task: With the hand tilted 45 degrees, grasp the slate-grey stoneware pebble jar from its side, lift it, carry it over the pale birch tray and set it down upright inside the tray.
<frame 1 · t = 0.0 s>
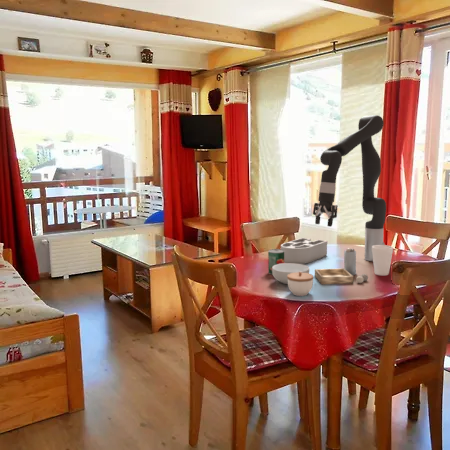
hand: (323, 225, 230), 22 cm above the table, tool pointing down, fingers open, 8 cm apart
birch tray: (333, 279, 216), on the table
pebble jar: (350, 273, 225), on the table
canned tomato: (276, 273, 230), on the table
ice cube tray: (301, 259, 258), on the table
foam cup: (381, 274, 224), on the table
lidded jar: (300, 294, 197), on the table
cereal bowl: (290, 282, 213), on the table
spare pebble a: (364, 280, 212), on the table
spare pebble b: (359, 283, 209), on the table
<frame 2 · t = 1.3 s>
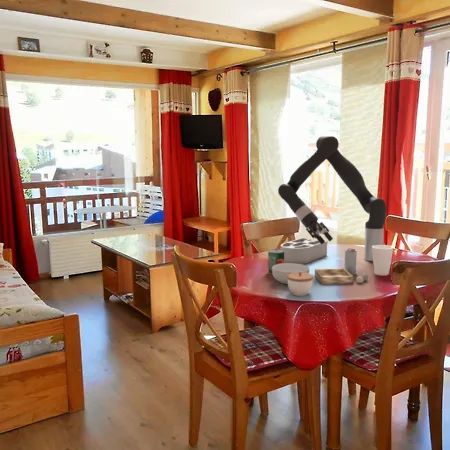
hand: (327, 241, 227), 15 cm above the table, tool tilted 45°, fingers open, 8 cm apart
nothing on the table moved.
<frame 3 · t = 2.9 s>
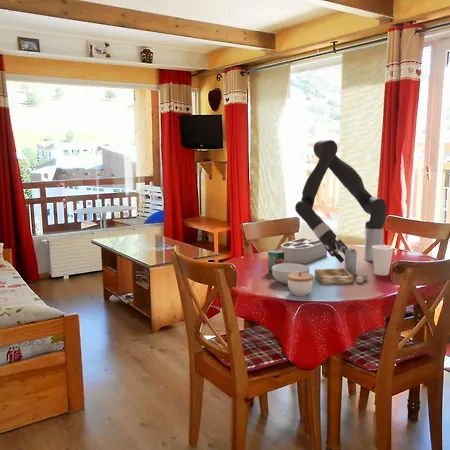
hand: (346, 259, 223), 7 cm above the table, tool tilted 45°, fingers open, 8 cm apart
nothing on the table moved.
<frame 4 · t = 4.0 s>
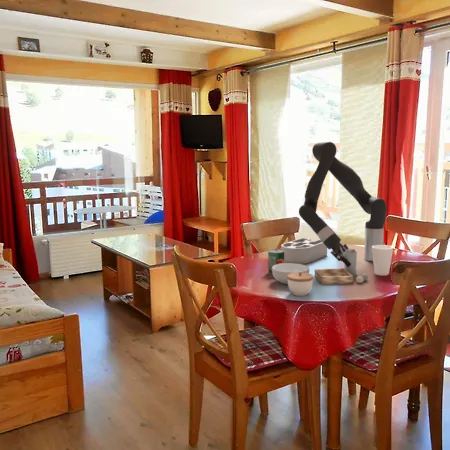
hand: (352, 264, 223), 5 cm above the table, tool tilted 45°, fingers closed on pebble jar, 5 cm apart
pebble jar: (350, 274, 224), on the table, touching gripper
everything else where it was.
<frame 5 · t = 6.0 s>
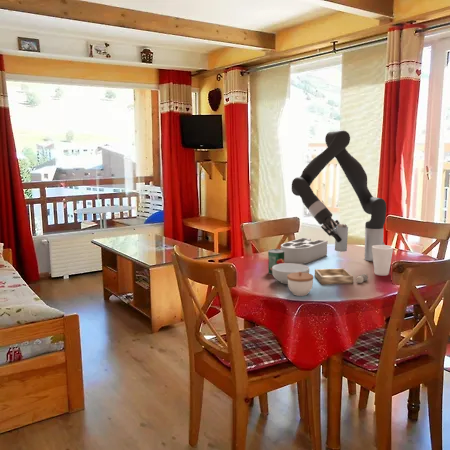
hand: (343, 240, 216), 18 cm above the table, tool tilted 45°, fingers closed on pebble jar, 5 cm apart
pebble jar: (340, 250, 218), point 13 cm above the table, touching gripper
everything else where it was.
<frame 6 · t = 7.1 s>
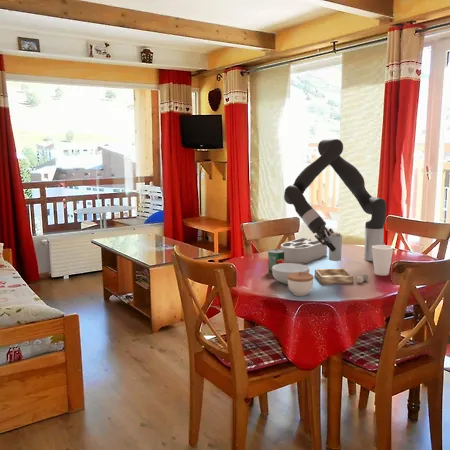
hand: (337, 249, 213), 14 cm above the table, tool tilted 45°, fingers closed on pebble jar, 5 cm apart
pebble jar: (334, 259, 214), point 10 cm above the table, touching gripper
everything else where it was.
when the fingers open (7 cm above the table, at t = 8.8 s): pebble jar drops 1 cm, resting on birch tray.
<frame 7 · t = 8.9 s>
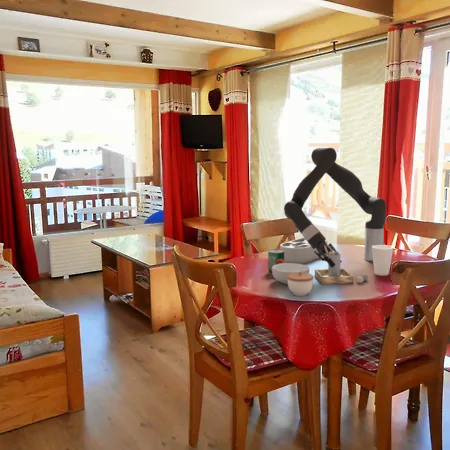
hand: (336, 264, 214), 7 cm above the table, tool tilted 45°, fingers open, 6 cm apart
pebble jar: (334, 278, 215), point 1 cm above the table, touching birch tray
everything else where it was.
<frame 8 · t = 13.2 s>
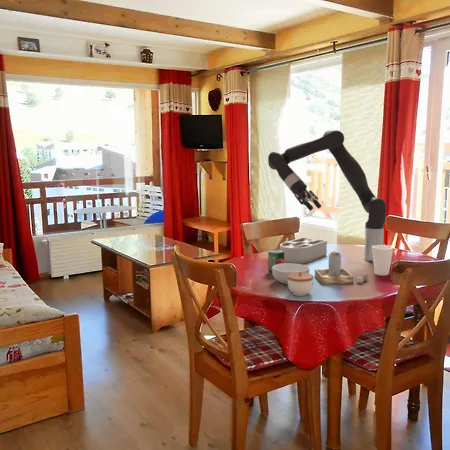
hand: (316, 208, 229), 31 cm above the table, tool tilted 45°, fingers open, 8 cm apart
at the end: pebble jar inside the target area on the birch tray (0.7 cm from its centre), point 0.8 cm above the birch tray's base; pebble jar tilted 0°; the gripper is holding nothing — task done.
